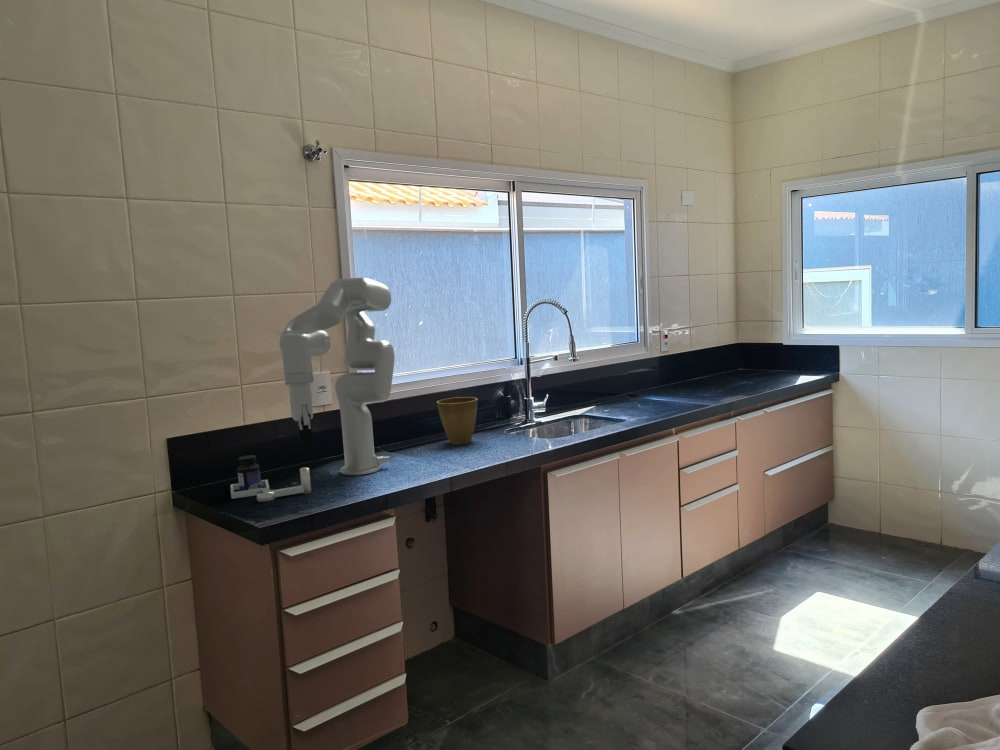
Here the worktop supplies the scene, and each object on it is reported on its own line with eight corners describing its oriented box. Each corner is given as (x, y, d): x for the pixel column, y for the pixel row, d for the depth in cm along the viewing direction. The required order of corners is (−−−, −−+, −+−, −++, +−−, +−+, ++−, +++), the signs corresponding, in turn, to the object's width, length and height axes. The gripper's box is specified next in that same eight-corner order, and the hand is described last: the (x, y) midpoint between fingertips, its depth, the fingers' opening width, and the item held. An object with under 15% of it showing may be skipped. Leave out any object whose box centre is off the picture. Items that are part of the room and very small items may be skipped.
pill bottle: (264, 490, 221) (260, 453, 219) (258, 496, 215) (255, 458, 213) (243, 492, 220) (239, 455, 219) (237, 497, 214) (233, 460, 213)
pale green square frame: (268, 489, 224) (267, 479, 223) (270, 497, 214) (269, 487, 214) (231, 494, 220) (230, 484, 220) (231, 503, 211) (230, 493, 210)
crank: (258, 502, 204) (255, 477, 204) (256, 498, 209) (253, 474, 208) (313, 493, 211) (310, 469, 210) (309, 489, 215) (307, 465, 214)
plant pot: (483, 438, 280) (480, 395, 278) (476, 446, 266) (473, 402, 264) (444, 439, 283) (441, 397, 281) (435, 448, 268) (432, 403, 266)
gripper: (282, 376, 211) (289, 439, 214) (288, 383, 197) (296, 451, 200) (309, 373, 214) (316, 435, 216) (317, 379, 200) (324, 446, 203)
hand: (306, 443), depth 208 cm, fingers closed
